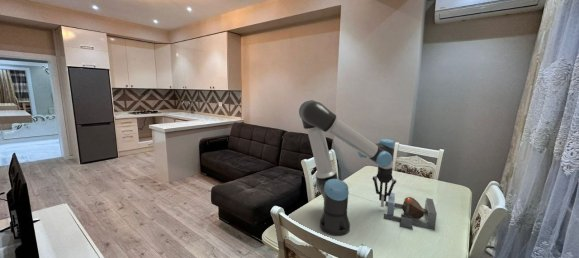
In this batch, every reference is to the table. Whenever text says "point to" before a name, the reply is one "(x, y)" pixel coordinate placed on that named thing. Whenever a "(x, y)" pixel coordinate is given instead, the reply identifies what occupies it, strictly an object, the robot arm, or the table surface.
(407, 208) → the lever
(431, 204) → the vise frame
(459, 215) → the table surface
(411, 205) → the rock
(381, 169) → the robot arm
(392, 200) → the vise jaw
